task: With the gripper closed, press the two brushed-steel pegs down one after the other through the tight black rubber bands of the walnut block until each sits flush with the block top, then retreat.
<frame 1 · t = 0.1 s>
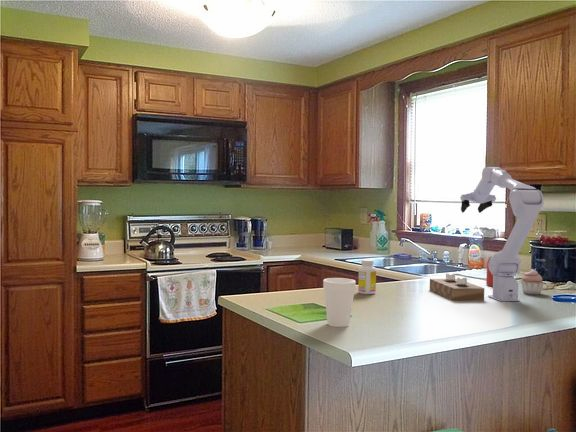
hand: (470, 210, 236), 32 cm above the countertop, tool tilted 50°, fingers open, 7 cm apart
foam cup: (338, 325, 164), on the countertop
peg near: (461, 282, 211), point 6 cm above the countertop, slide at 0.0 cm
walnut block: (455, 294, 216), on the countertop
cupcake: (531, 294, 223), on the countertop
peg far: (450, 278, 221), point 6 cm above the countertop, slide at 0.0 cm
beer can: (494, 286, 240), on the countertop
supplement bottle: (366, 293, 216), on the countertop
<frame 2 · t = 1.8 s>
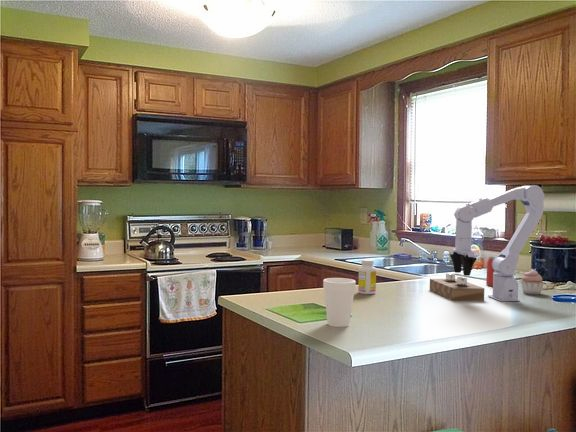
hand: (462, 274, 211), 9 cm above the countertop, tool pointing down, fingers open, 7 cm apart
nothing on the countertop moved.
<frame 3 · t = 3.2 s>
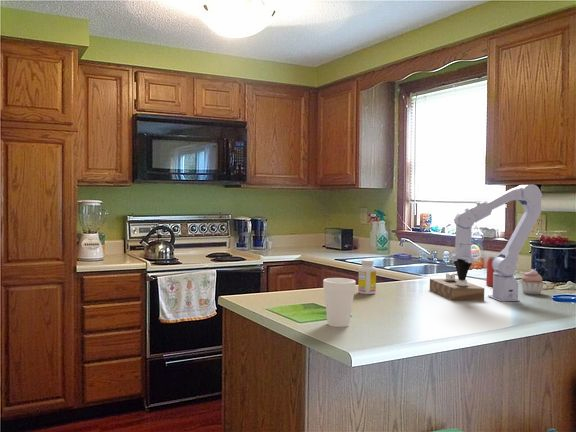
hand: (461, 279, 211), 7 cm above the countertop, tool pointing down, fingers closed, pressing on peg near
peg near: (461, 285, 211), point 5 cm above the countertop, slide at 0.8 cm, touching gripper
everything else where it was.
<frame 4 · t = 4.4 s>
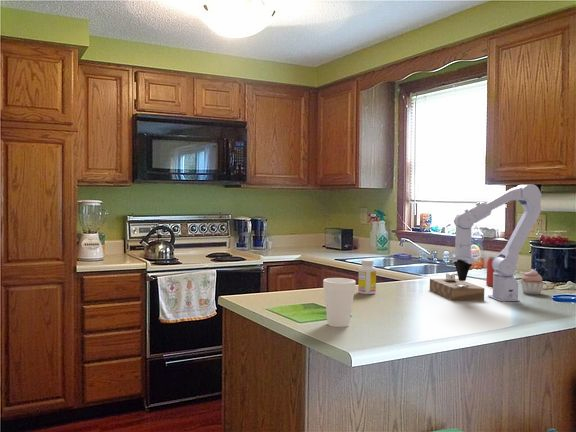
hand: (462, 280, 211), 6 cm above the countertop, tool pointing down, fingers closed
peg near: (461, 290, 211), point 2 cm above the countertop, slide at 3.0 cm
everything else where it was.
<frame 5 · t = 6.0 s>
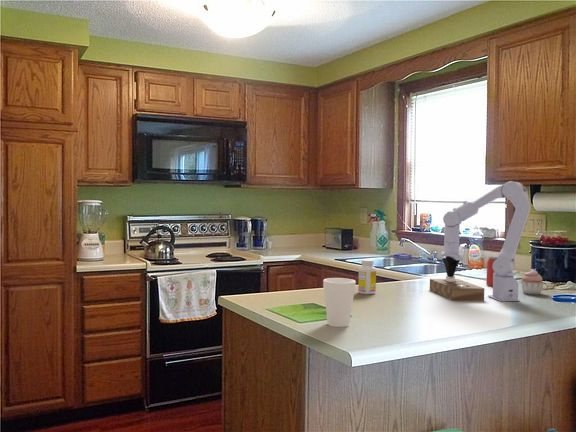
hand: (450, 276, 221), 6 cm above the countertop, tool pointing down, fingers closed, pressing on peg far
peg far: (450, 281, 221), point 4 cm above the countertop, slide at 1.0 cm, touching gripper
everything else where it was.
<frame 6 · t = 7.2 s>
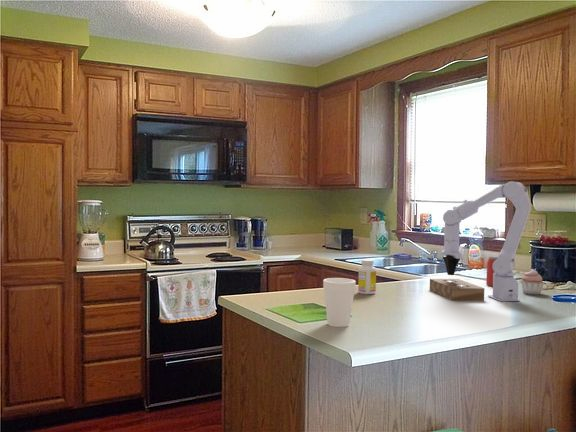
hand: (450, 274, 221), 7 cm above the countertop, tool pointing down, fingers closed
peg far: (450, 286, 221), point 2 cm above the countertop, slide at 3.0 cm
everything else where it was.
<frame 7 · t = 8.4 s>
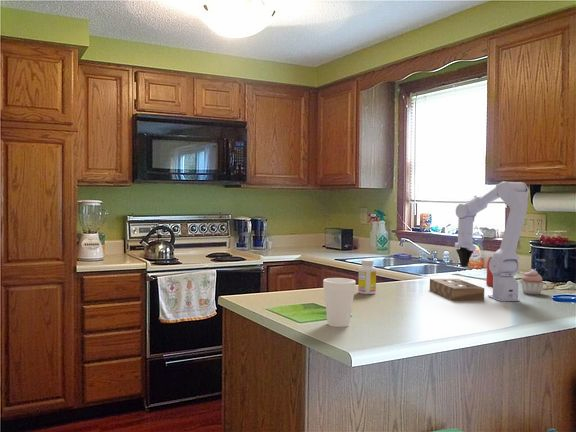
hand: (464, 266, 229), 9 cm above the countertop, tool pointing down, fingers closed
nothing on the countertop moved.
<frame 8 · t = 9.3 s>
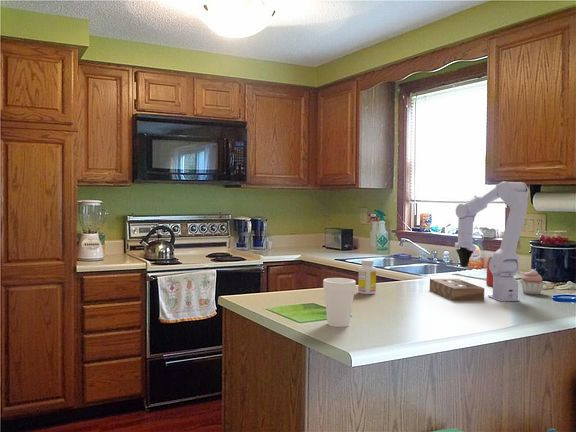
hand: (464, 266, 229), 9 cm above the countertop, tool pointing down, fingers closed
nothing on the countertop moved.
at the end: peg near slide at 3.0 cm; peg far slide at 3.0 cm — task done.
